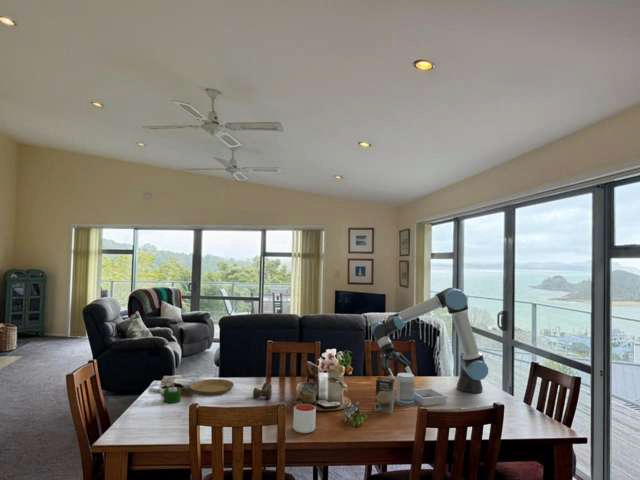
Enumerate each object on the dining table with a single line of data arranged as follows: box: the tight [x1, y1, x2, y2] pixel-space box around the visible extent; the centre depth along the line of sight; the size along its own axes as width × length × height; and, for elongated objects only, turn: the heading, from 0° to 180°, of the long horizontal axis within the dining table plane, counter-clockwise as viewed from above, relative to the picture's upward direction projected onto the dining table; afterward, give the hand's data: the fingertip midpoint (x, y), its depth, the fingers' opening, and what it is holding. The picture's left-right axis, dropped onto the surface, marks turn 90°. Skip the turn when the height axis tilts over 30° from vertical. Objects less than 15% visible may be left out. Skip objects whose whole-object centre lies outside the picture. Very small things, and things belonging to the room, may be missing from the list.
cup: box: [292, 403, 317, 434], centre depth 197 cm, size 10×10×10 cm
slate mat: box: [394, 397, 421, 407], centre depth 240 cm, size 12×12×1 cm
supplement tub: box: [396, 372, 415, 404], centre depth 240 cm, size 10×10×15 cm
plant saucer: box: [190, 378, 235, 397], centre depth 248 cm, size 24×24×3 cm
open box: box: [414, 387, 448, 406], centre depth 244 cm, size 15×15×4 cm
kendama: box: [252, 382, 272, 400], centre depth 241 cm, size 6×10×20 cm
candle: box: [163, 381, 182, 405], centre depth 228 cm, size 8×8×10 cm
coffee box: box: [374, 376, 396, 415], centre depth 225 cm, size 9×6×16 cm
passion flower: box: [342, 401, 368, 428], centre depth 207 cm, size 11×11×12 cm
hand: (402, 378), depth 242 cm, fingers open, 13 cm apart
